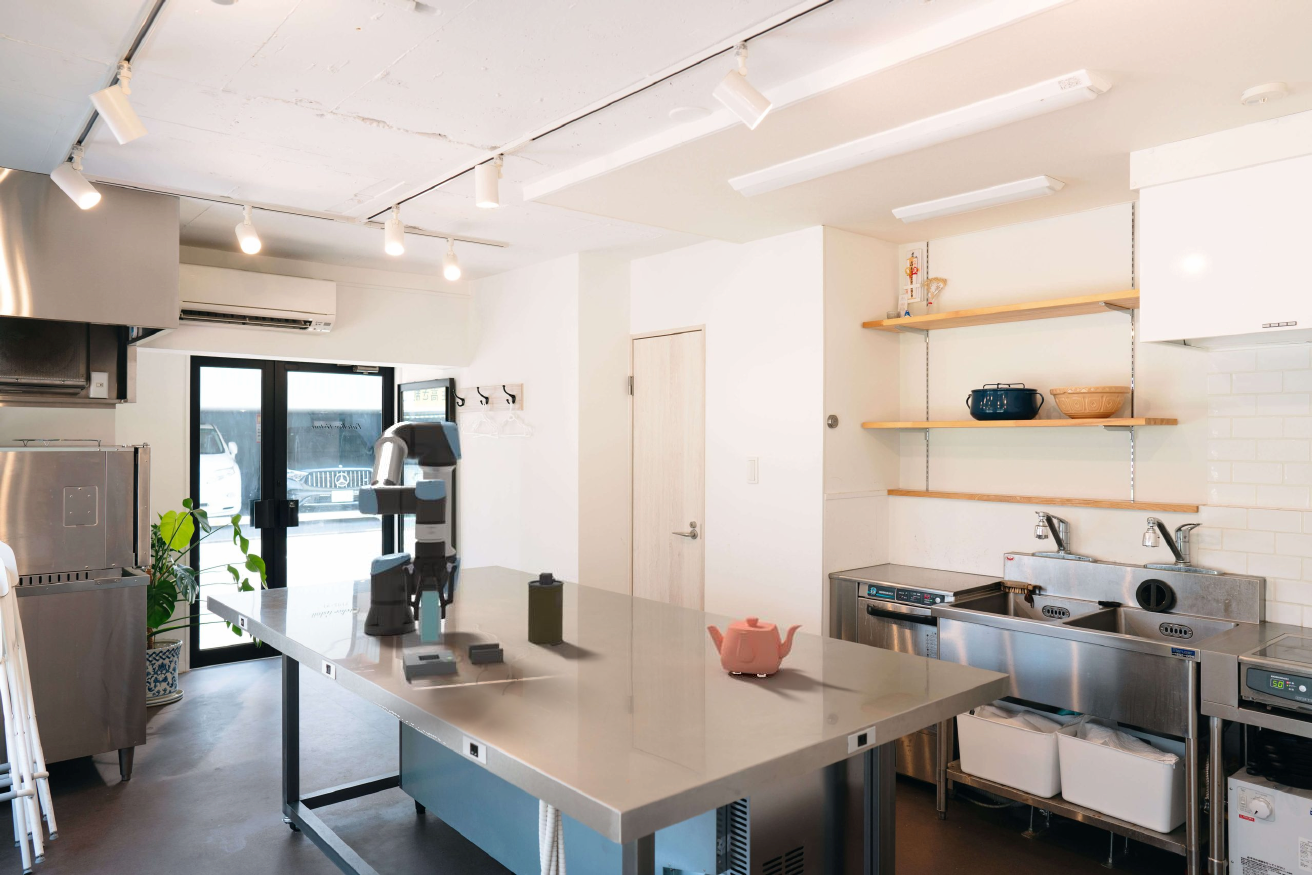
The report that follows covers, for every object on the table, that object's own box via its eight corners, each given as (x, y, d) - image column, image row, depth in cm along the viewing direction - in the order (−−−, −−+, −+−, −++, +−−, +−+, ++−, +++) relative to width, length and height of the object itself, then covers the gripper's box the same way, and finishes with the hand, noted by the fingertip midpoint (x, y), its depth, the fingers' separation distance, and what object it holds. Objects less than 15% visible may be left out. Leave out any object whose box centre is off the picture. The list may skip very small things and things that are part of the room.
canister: (556, 646, 238) (557, 576, 238) (521, 644, 240) (522, 575, 240) (568, 638, 249) (568, 571, 249) (534, 636, 251) (535, 569, 251)
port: (402, 667, 215) (403, 651, 215) (450, 663, 219) (450, 647, 219) (406, 679, 204) (406, 662, 204) (456, 675, 208) (456, 658, 208)
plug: (420, 638, 213) (421, 591, 213) (436, 637, 214) (437, 590, 214) (421, 642, 209) (422, 594, 209) (438, 640, 210) (438, 593, 211)
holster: (468, 659, 224) (468, 645, 224) (498, 656, 226) (498, 642, 226) (472, 666, 217) (472, 651, 217) (503, 663, 220) (503, 649, 220)
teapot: (803, 676, 210) (803, 621, 210) (740, 685, 202) (741, 627, 202) (762, 659, 226) (763, 608, 226) (703, 667, 218) (703, 613, 218)
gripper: (396, 542, 206) (395, 638, 205) (466, 540, 211) (465, 633, 211) (394, 539, 213) (393, 632, 212) (462, 537, 218) (461, 627, 218)
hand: (429, 632), depth 212 cm, fingers closed on plug, 4 cm apart
